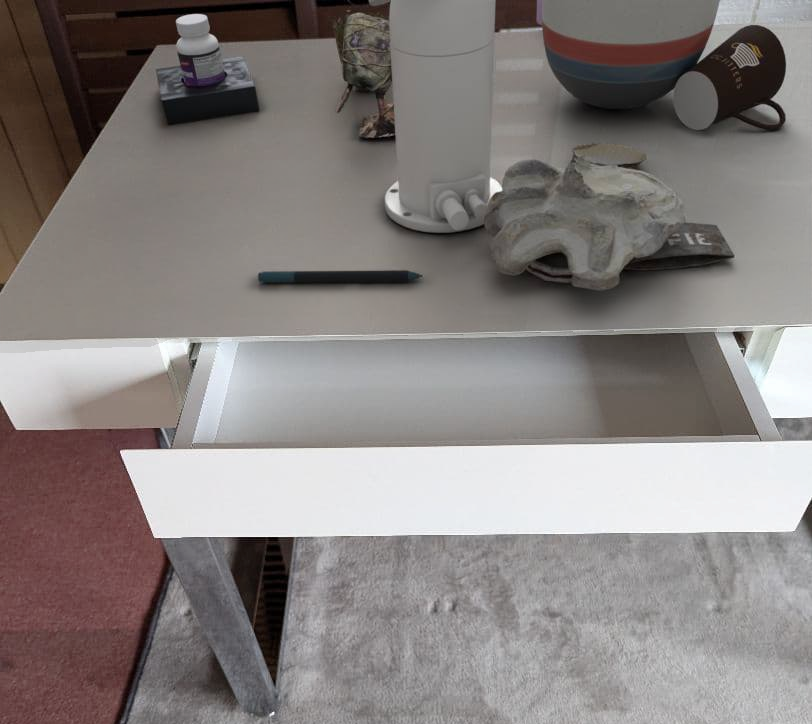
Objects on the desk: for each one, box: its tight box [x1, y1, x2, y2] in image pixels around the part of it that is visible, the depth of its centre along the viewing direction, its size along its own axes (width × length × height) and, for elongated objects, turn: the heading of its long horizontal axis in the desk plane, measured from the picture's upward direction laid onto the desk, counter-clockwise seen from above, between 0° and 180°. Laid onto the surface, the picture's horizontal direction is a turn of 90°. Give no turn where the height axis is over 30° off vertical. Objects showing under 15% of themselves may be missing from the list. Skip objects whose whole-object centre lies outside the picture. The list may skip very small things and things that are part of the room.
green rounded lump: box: [332, 12, 389, 93], centre depth 105 cm, size 8×7×8 cm
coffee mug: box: [672, 24, 787, 131], centre depth 92 cm, size 12×9×10 cm
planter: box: [541, 0, 721, 110], centre depth 92 cm, size 20×20×21 cm
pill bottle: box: [175, 13, 225, 86], centre depth 104 cm, size 5×5×10 cm
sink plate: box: [155, 56, 260, 126], centre depth 106 cm, size 12×12×3 cm
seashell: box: [571, 142, 647, 169], centre depth 87 cm, size 8×3×8 cm
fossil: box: [483, 154, 687, 292], centre depth 73 cm, size 18×11×15 cm
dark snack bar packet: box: [525, 222, 735, 284], centre depth 75 cm, size 8×19×2 cm, turn 93°
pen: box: [257, 269, 424, 284], centre depth 75 cm, size 16×1×1 cm, turn 85°
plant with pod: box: [335, 0, 395, 139], centre depth 91 cm, size 8×11×20 cm
